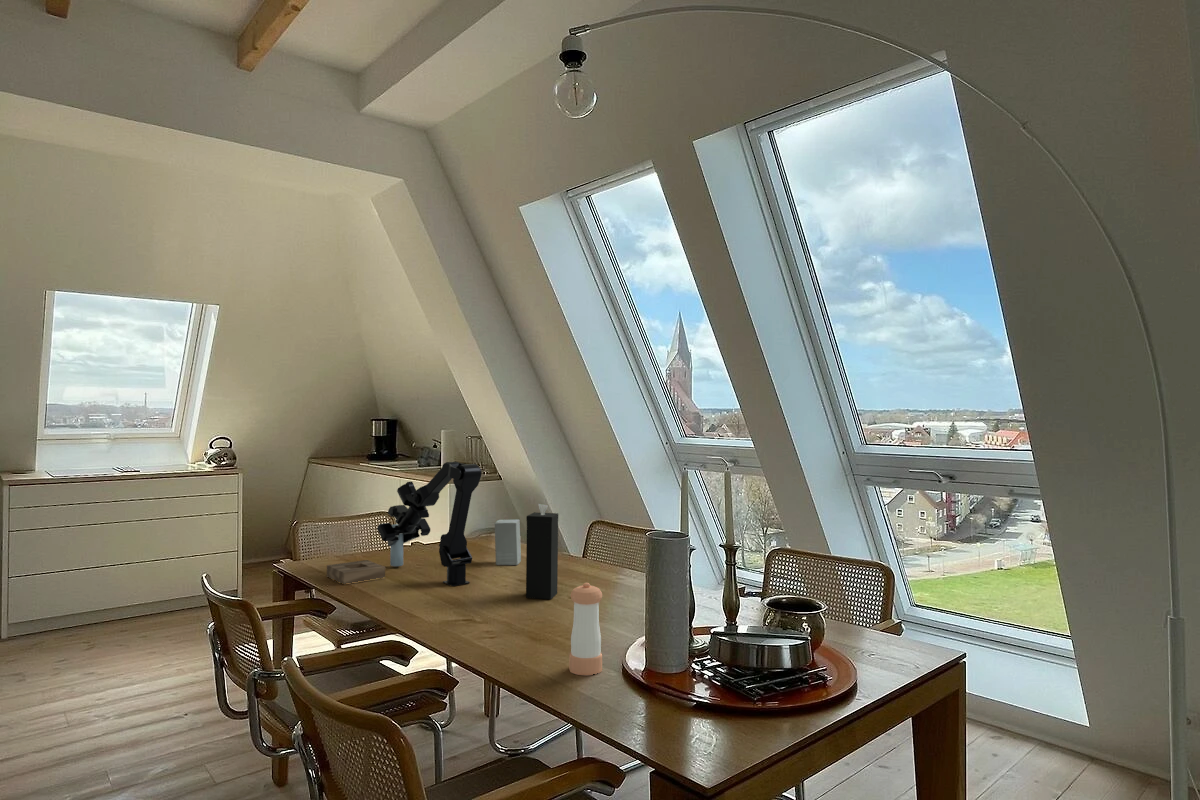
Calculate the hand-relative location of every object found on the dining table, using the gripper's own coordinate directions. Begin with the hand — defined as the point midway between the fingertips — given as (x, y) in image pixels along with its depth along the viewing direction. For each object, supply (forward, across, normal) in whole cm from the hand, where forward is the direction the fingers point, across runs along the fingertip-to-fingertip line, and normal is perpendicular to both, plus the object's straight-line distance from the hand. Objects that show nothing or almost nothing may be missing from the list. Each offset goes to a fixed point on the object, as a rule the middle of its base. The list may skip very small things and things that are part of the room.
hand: (394, 544), depth 274 cm
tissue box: (-41, -8, +53) cm, 68 cm away
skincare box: (-11, -31, +23) cm, 41 cm away
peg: (+4, 0, +6) cm, 7 cm away
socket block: (+1, +19, +10) cm, 21 cm away
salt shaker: (-79, +30, +92) cm, 125 cm away
